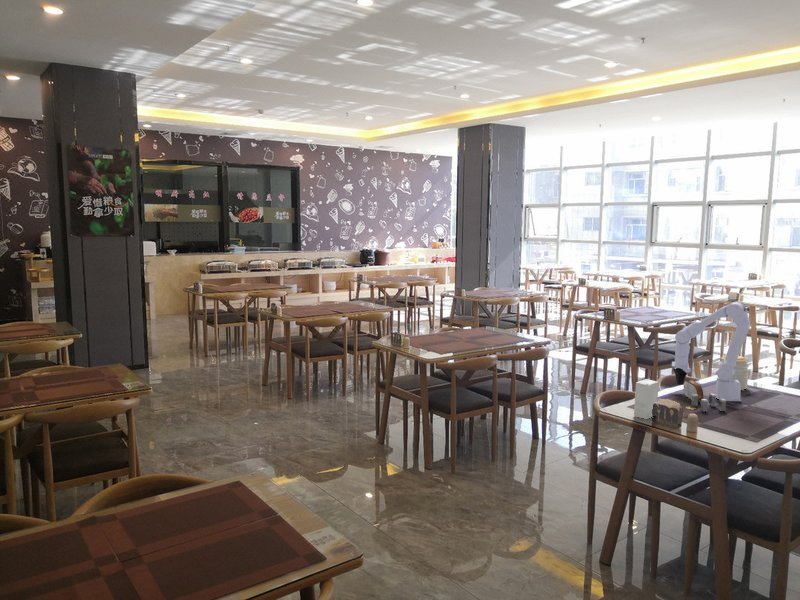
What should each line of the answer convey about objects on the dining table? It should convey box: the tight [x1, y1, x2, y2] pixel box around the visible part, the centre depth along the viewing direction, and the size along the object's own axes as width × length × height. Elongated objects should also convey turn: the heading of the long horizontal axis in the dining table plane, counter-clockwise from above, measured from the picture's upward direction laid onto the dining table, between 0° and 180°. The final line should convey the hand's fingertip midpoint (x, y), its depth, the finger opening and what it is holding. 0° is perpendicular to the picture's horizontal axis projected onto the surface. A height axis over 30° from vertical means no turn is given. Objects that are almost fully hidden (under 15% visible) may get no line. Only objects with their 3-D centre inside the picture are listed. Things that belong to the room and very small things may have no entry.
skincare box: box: [633, 378, 660, 420], centre depth 254 cm, size 8×6×15 cm
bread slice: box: [683, 379, 704, 403], centre depth 280 cm, size 15×3×8 cm, turn 179°
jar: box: [718, 354, 750, 391], centre depth 301 cm, size 13×13×18 cm
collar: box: [690, 393, 717, 407], centre depth 271 cm, size 10×2×5 cm, turn 92°
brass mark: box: [685, 406, 697, 411], centre depth 267 cm, size 4×4×1 cm
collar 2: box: [700, 398, 727, 413], centre depth 263 cm, size 10×2×5 cm, turn 92°
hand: (679, 384), depth 292 cm, fingers closed
